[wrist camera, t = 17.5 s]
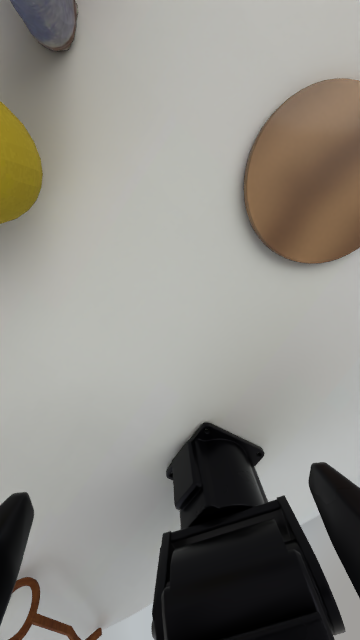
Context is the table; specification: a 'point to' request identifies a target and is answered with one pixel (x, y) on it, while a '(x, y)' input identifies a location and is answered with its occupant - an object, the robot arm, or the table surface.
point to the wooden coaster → (308, 174)
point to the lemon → (17, 167)
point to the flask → (49, 21)
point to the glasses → (42, 620)
